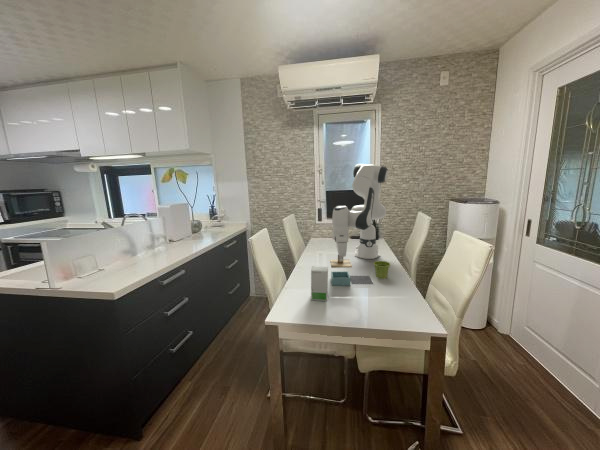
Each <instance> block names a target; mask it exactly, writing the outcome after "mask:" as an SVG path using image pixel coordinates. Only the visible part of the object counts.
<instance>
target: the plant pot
mask: <svg viewBox="0 0 600 450" xmlns="http://www.w3.org/2000/svg"><path fill="white" fill-rule="evenodd" d="M373 265H374V270H375V277H376V278H378V279H387V278H388V275H389V274H388V273H389V268H390V266H391V263H390V262H388V261H385V260H378V261H377V260H376V261H374V262H373Z"/></svg>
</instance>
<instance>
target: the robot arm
mask: <svg viewBox="0 0 600 450" xmlns="http://www.w3.org/2000/svg"><path fill="white" fill-rule="evenodd" d="M352 175H353V181H352V186H351V187H352V190H353V192H354V193H355V194H356V195H357V196H359V197H361V198H362V199H363V200H364V203H363V204H359V205H353V206H352V208H350V209H349V208H348V206H346V205H336V206H335V207H333V210H332V218H331V219H332V221H331V222H332V231H331V232H332V233H331V234H332V240H334V242H335V248H336V252H337V256H338V255H339V261H343V259H344V257H345V258H346V256H347V250H348V242H349V238H350V237H349V234H350V233H349V231H350V230H349V228H351V229H358V230H359V233H360V234H359V235H360V236H359V242H358V245H356V246H355V251H354V257H357V258H360V259H366V260H371V259H376V258H379V257H381V254H380V253H379V245H378V244H377V238H376V237H377V235H376V231H377V230H376V227H375V226H374V225H373V224H372V221H373V220H381V219H384V218H385V217H386V216H387V208H386V206H384V205H383V204H382V203H381V201H380V191H381V190H380V189H381V184H383V183H385V182H386V181H387V179H388V177H389V170H388V167H386V166H383V165H378V164H370V163H369V164H366V163H365V164H364V163H358V164H355V166H354V169H353V172H352Z"/></svg>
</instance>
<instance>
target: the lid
mask: <svg viewBox="0 0 600 450" xmlns="http://www.w3.org/2000/svg"><path fill="white" fill-rule="evenodd" d="M329 261H330V267H331V269H334V268H336V269H340V268H341V269H342V268H346V269H347V268H352V267H353V264H352V262H351V261H350V259H347V258H346V259H344V258H343V261H339V255H338V254H337V259H329Z"/></svg>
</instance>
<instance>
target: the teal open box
mask: <svg viewBox="0 0 600 450" xmlns="http://www.w3.org/2000/svg"><path fill="white" fill-rule="evenodd" d="M350 276H351V275H350V272H349V271H344V270H343V271H341V270H340V271H338V270H337V271H330V281H331V286H332V287H335V286H337V287H338V286H339V287H341V286H343V287H351V281H350Z"/></svg>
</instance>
